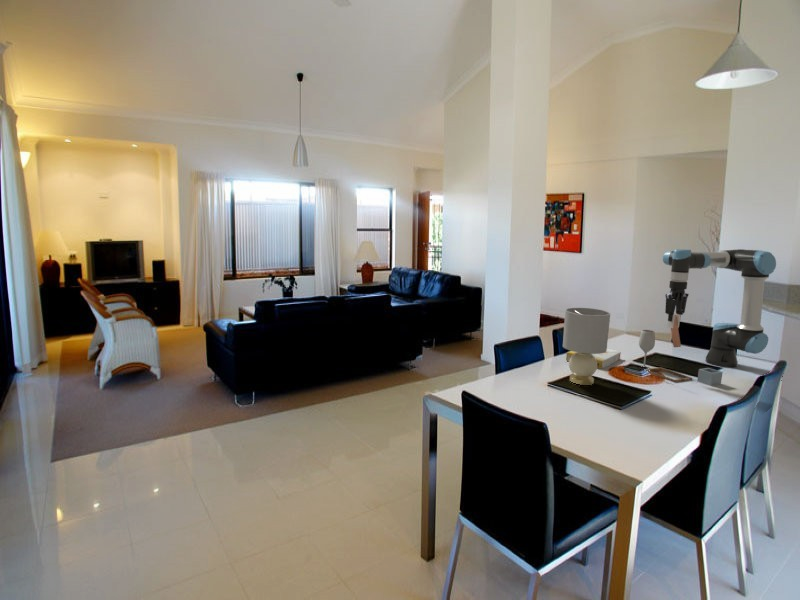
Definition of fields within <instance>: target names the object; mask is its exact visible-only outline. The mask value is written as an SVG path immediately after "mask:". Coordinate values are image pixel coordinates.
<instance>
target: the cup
mask: <svg viewBox="0 0 800 600" xmlns="http://www.w3.org/2000/svg"><path fill="white" fill-rule="evenodd" d="M722 380H723V371H720V370H717V369H713V368H711V367H704V368H699V369H698V372H697V380H696V381H697V383H700V384H704V385H705V386H709V387H714V386H719V385H722Z"/></svg>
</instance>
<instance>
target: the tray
mask: <svg viewBox="0 0 800 600" xmlns="http://www.w3.org/2000/svg"><path fill="white" fill-rule="evenodd" d="M644 370H646V371H648V372H649V373H650V374H649V375H651V376H656V377H658V378H660V379H661V381H662V382H664V380H665V381H666V380H667V381H669V382H672V383H680V382H688V381H692V380H693V377H691V376H688V375H685V374H682V373H679V372H675V371H674V370H669V369H667V368H664V367H661V366H660V367H652V368H650V369H644ZM649 370H650V371H649ZM665 372H666V373H669V374H672V375H675V376H678V377H680V378H676V379H673V378H671V377H669V376H665V375H662V374H660V373H665ZM663 379H664V380H663ZM667 381H666V383H667V384H671V385H674V386H675V384H672V383H669V382H667Z"/></svg>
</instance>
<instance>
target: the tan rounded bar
mask: <svg viewBox="0 0 800 600" xmlns="http://www.w3.org/2000/svg"><path fill="white" fill-rule="evenodd" d="M670 332H671V340H672V346H673V348H680V347H681V346H682V345H681V340H680V339H681V338H680V333H679V328H678V326H677V319H676V315H675V319H674V327H673V328H670ZM681 348H682V347H681Z"/></svg>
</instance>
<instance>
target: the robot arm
mask: <svg viewBox="0 0 800 600" xmlns="http://www.w3.org/2000/svg"><path fill="white" fill-rule="evenodd" d="M662 261H663V264H664V265H667V266H671V271H670V277H669V278H670V280H669V285H668V287H669V289H670V291H669V292H668V293H665V309H664V310H665V312H664V313H665V314H666V315H667V317H668V318H667V328H670V329H671V328H673V327H674V319H675V315H676V319H677V326H678V329H679V327H680V323H681V322H680V321H681V316H683V315H684V313H685V312H686V307H687V306H686V305H687V300H688V297H689V293H687V292H686V291H685V290H687V289H688V282H687V281H689V273H690V269H699V270H700V269H701V270H702V269H706V268H708V267H716V268H718V269H727V270H731V271H736V272H740V273H741V275H740V276H741V278H743V279H744V280H743V281H744V282H743V293H742V304H741V315H740V323H732V322H731V323H730V322H717V323H715V324H713V328H712V335H711V342H710V343H711V344H710V349H709V351H708V352H707V355H706V356H705V361H704V362H706V363H708V364H710V365H713V366H718V367H723V368H724V367H725V368H735V367H737V366H738V362H739V361H738V358H737V353H736V350H739V351H742V352H746V353H749V354H760V353H761V352H763V351H764V350H765V349H766V348H767V345H768V344H769V337H768V334H766V333H764V327H763V326H762V325H761V323H762V322H761V321H762V313H763V312H762V311H763V301H764V292H765V291H764V290H765V282H766V280H767V279H769V277H770V275H771V274H773V273H774V272H775V270H776V269H777V268H776V266H777V260H776V257H775V256H774V255H773V253H772V252H769V251H765V250H761V249H760V250H759V249H756V250H755V249H743V248H742V249H741V248H740V249H739V248H738V249H728V250H719V251H716V252H715V251H692V250H691V249H685V248H675V249H674V250H668V251H665V253H664V254H663V255H662Z"/></svg>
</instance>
